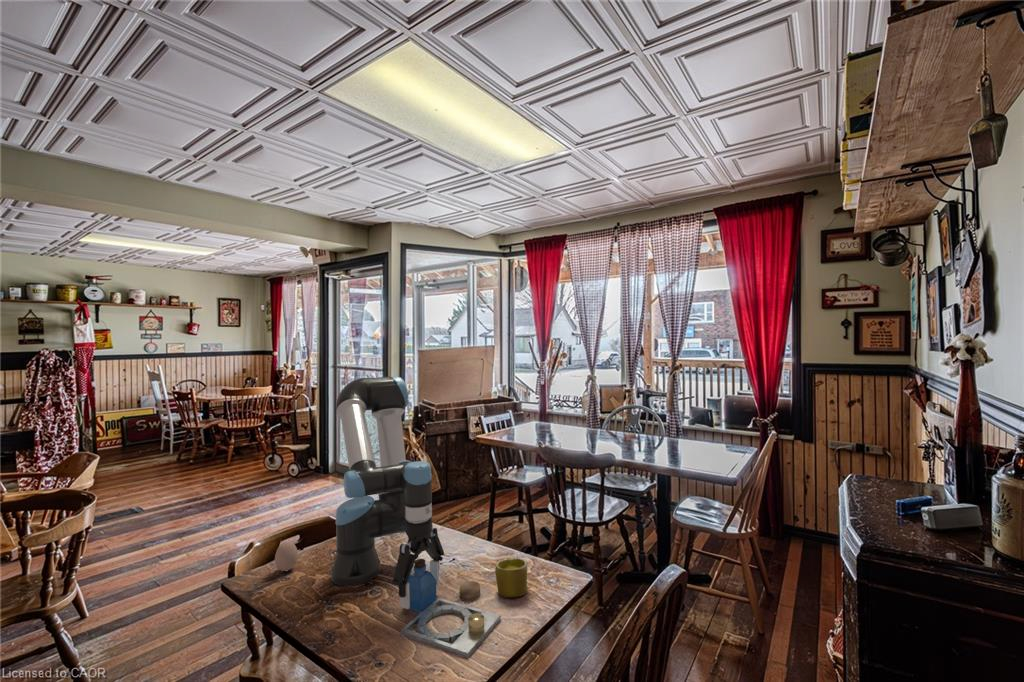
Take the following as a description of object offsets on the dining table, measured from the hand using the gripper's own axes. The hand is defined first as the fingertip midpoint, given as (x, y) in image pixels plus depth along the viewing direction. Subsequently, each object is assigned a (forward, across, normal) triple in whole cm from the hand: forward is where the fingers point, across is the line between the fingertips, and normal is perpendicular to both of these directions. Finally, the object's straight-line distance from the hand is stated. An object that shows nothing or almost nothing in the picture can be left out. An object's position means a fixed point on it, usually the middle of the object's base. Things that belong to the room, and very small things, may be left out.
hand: (420, 594), depth 125 cm
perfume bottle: (+3, 0, 0) cm, 3 cm away
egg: (+3, -3, +53) cm, 53 cm away
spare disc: (+3, +10, -10) cm, 14 cm away
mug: (+3, +18, -20) cm, 27 cm away
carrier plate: (+3, -5, -14) cm, 15 cm away
